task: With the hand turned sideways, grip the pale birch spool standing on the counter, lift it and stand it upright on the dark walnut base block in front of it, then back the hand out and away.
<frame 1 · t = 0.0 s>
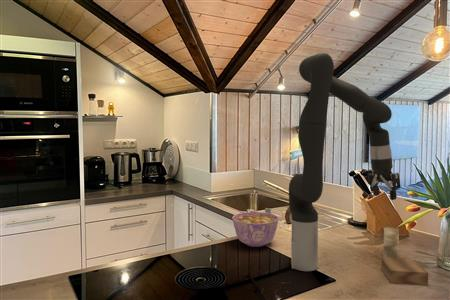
hand: (384, 197, 136), 22 cm above the countertop, tool pointing down, fingers open, 8 cm apart
flask: (268, 229, 172), on the countertop
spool: (390, 260, 130), on the countertop
tin: (294, 221, 185), on the countertop
bowl of food: (255, 244, 150), on the countertop
walnut base: (403, 276, 116), on the countertop
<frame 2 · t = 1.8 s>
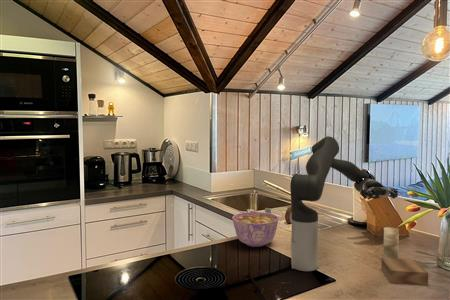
hand: (382, 195, 140), 22 cm above the countertop, tool horizontal, fingers open, 8 cm apart
nothing on the countertop moved.
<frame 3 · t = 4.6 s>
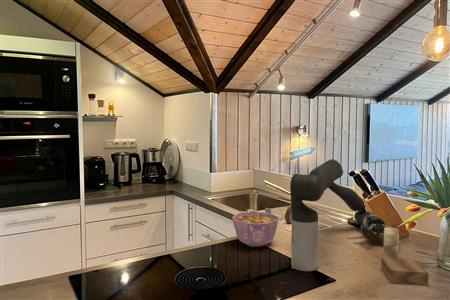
hand: (384, 235, 138), 7 cm above the countertop, tool horizontal, fingers open, 8 cm apart
nothing on the countertop moved.
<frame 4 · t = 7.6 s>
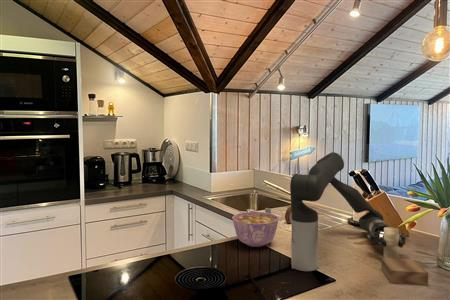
hand: (393, 244, 127), 7 cm above the countertop, tool horizontal, fingers closed on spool, 5 cm apart
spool: (390, 260, 130), on the countertop, touching gripper
everything else where it was.
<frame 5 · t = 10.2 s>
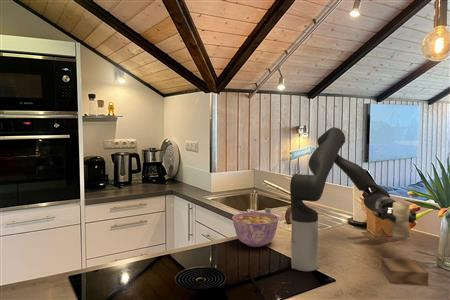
hand: (403, 220, 116), 19 cm above the countertop, tool horizontal, fingers closed on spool, 5 cm apart
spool: (400, 238, 119), point 12 cm above the countertop, touching gripper
everything else where it was.
when the fingers open (12 cm above the countertop, at t = 12.9 s): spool drops 1 cm, resting on walnut base.
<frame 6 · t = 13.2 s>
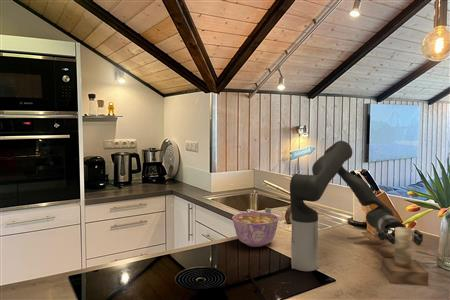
hand: (406, 242, 113), 12 cm above the countertop, tool horizontal, fingers open, 7 cm apart
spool: (403, 264, 116), point 4 cm above the countertop, touching walnut base
everything else where it was.
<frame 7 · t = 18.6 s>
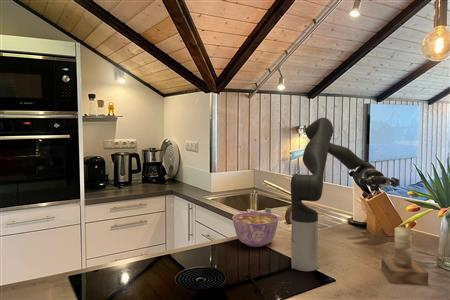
hand: (383, 184, 132), 28 cm above the countertop, tool horizontal, fingers open, 8 cm apart
nothing on the countertop moved.
at the end: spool inside the target area on the walnut base (0.1 cm from its centre), point 4.1 cm above the walnut base's base; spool tilted 2°; the gripper is holding nothing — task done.
